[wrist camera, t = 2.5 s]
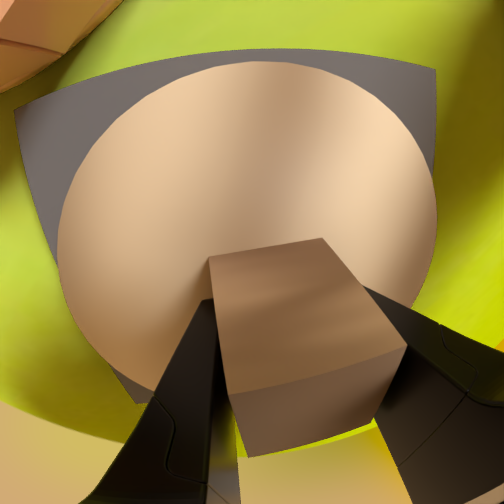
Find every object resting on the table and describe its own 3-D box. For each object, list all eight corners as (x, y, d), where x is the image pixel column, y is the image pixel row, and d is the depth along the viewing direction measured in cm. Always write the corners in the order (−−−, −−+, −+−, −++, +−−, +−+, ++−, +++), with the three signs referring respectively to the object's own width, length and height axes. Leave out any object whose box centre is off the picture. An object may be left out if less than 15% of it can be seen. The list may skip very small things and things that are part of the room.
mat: (413, 68, 8) (435, 69, 7) (380, 335, 14) (390, 350, 13) (33, 107, 6) (13, 109, 5) (137, 384, 13) (136, 403, 12)
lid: (425, 80, 7) (564, 107, 2) (385, 346, 13) (436, 426, 8) (28, 120, 5) (-115, 176, 1) (142, 397, 12) (141, 500, 7)
